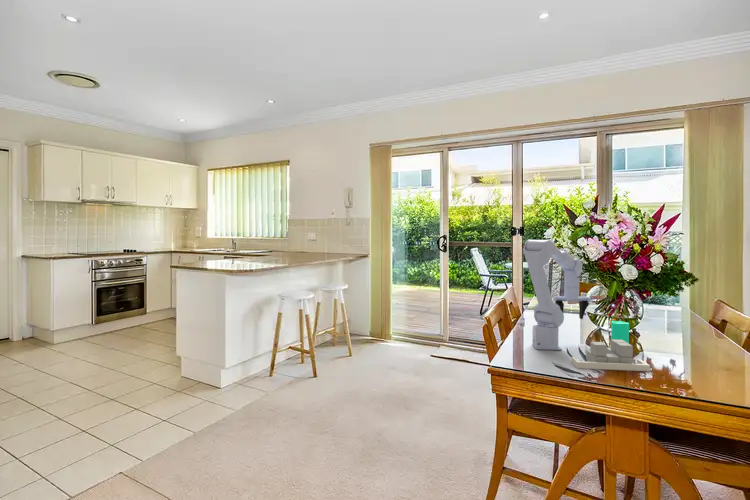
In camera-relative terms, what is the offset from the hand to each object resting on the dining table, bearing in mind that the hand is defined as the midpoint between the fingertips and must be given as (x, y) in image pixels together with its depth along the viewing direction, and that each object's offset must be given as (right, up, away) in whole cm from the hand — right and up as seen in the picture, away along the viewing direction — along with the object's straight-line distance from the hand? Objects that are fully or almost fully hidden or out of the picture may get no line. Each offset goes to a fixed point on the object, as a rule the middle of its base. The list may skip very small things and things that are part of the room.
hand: (571, 318), depth 169 cm
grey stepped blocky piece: (-1, -11, -28) cm, 30 cm away
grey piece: (-3, -11, -33) cm, 35 cm away
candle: (+13, -10, -12) cm, 20 cm away
